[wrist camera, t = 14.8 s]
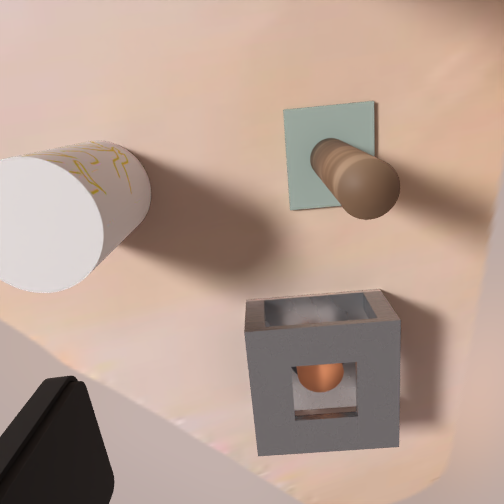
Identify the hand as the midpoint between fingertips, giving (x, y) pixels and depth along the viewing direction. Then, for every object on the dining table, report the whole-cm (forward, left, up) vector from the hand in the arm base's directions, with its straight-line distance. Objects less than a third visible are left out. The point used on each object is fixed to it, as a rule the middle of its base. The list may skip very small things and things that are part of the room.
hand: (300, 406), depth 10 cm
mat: (-2, +5, -28) cm, 29 cm away
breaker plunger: (+16, +3, -27) cm, 32 cm away
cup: (-1, -14, -29) cm, 32 cm away
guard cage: (+16, +3, -28) cm, 33 cm away
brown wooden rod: (-2, +5, -28) cm, 28 cm away
